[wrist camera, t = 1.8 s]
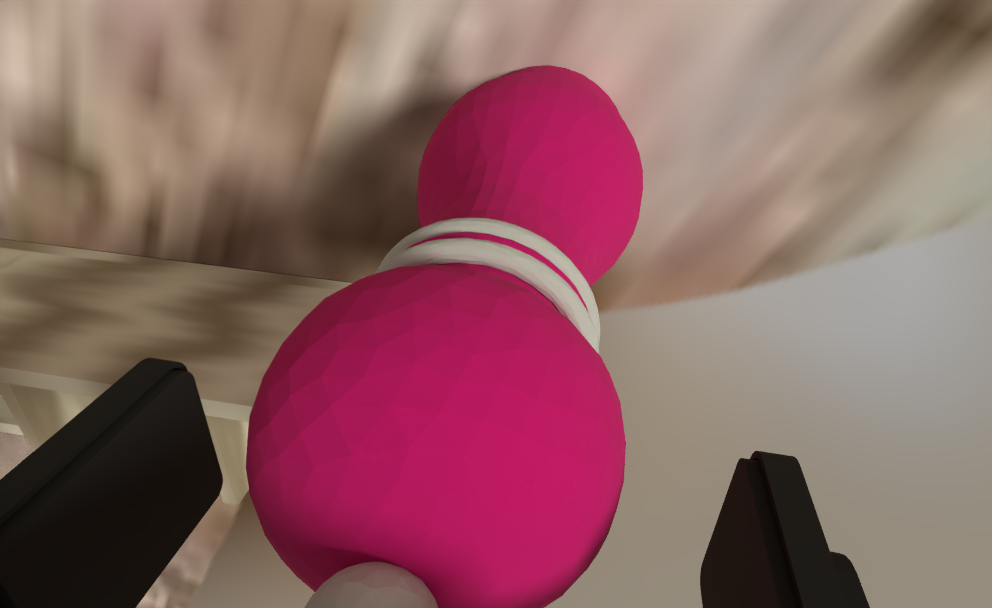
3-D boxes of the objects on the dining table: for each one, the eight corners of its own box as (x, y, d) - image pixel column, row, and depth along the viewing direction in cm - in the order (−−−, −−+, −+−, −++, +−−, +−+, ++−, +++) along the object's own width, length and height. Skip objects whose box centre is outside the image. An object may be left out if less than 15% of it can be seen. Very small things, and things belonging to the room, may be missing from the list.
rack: (-45, 386, 38) (-218, 504, 30) (-146, 217, 31) (-399, 311, 24) (459, 469, 33) (409, 632, 26) (458, 292, 27) (393, 438, 19)
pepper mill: (560, 265, 25) (446, 892, 9) (421, 165, 24) (-20, 680, 8) (681, 132, 22) (881, 793, 5) (523, 5, 20) (89, 329, 4)
